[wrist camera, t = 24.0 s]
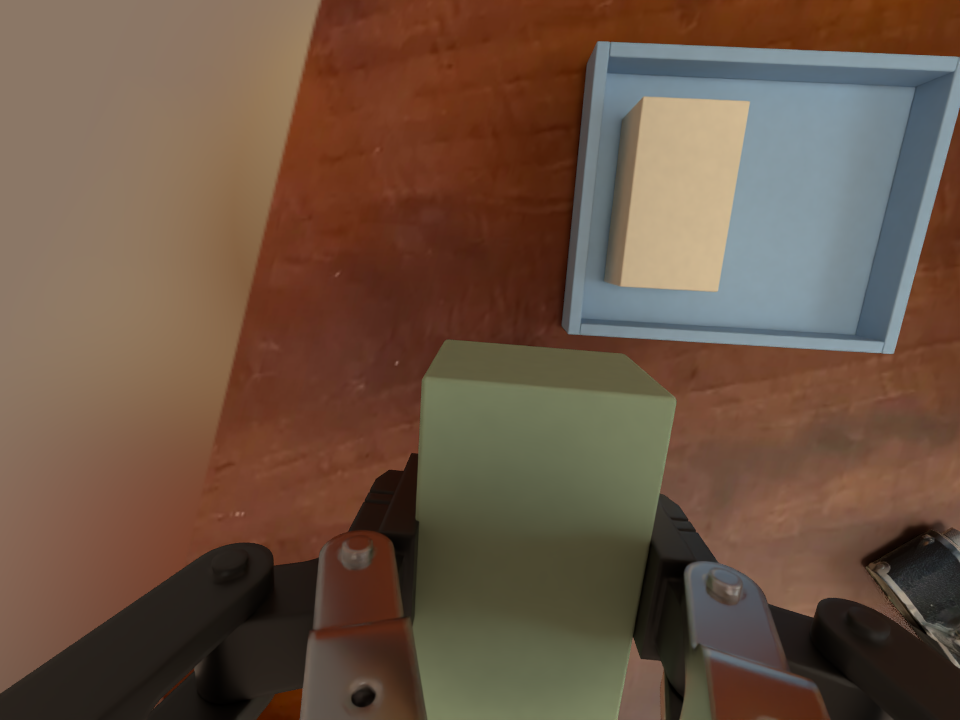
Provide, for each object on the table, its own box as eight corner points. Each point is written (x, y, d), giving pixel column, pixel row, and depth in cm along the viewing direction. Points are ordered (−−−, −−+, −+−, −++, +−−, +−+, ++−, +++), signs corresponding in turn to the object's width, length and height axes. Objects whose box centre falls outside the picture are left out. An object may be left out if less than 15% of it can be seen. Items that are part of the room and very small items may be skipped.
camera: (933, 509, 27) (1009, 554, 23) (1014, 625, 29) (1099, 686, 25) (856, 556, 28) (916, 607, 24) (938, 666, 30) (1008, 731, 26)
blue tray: (561, 326, 26) (567, 334, 24) (586, 63, 23) (597, 40, 20) (856, 344, 25) (894, 354, 23) (922, 77, 22) (974, 56, 20)
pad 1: (428, 608, 13) (405, 731, 10) (444, 338, 12) (421, 377, 8) (584, 623, 13) (612, 752, 10) (626, 353, 11) (679, 398, 8)
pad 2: (603, 281, 25) (619, 286, 21) (621, 118, 23) (643, 95, 20) (688, 286, 25) (718, 292, 21) (713, 123, 23) (751, 100, 19)
